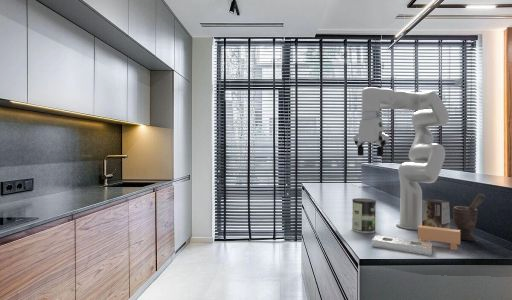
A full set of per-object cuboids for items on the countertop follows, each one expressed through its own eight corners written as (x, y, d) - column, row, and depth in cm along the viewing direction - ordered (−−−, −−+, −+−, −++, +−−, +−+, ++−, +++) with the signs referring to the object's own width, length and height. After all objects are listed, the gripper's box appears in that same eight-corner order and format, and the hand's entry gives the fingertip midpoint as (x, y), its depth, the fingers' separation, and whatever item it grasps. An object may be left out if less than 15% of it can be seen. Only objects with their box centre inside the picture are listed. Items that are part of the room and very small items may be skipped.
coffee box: (451, 240, 132) (452, 201, 133) (441, 242, 130) (442, 202, 130) (430, 235, 141) (431, 198, 141) (421, 236, 138) (421, 199, 138)
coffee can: (377, 229, 149) (378, 199, 149) (372, 234, 140) (373, 202, 140) (355, 226, 154) (355, 197, 154) (349, 231, 145) (349, 200, 145)
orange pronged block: (417, 245, 125) (418, 227, 125) (418, 242, 129) (418, 225, 129) (460, 251, 118) (460, 232, 118) (459, 248, 122) (459, 230, 122)
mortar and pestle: (487, 240, 133) (488, 192, 133) (483, 244, 127) (484, 194, 127) (455, 235, 141) (456, 190, 141) (450, 238, 135) (451, 191, 135)
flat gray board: (371, 246, 122) (371, 239, 122) (375, 241, 129) (375, 235, 129) (431, 255, 112) (431, 248, 112) (432, 249, 119) (432, 243, 119)
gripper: (394, 115, 134) (393, 156, 134) (359, 118, 148) (358, 155, 148) (383, 114, 130) (382, 156, 130) (348, 117, 144) (348, 155, 144)
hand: (369, 155), depth 139 cm, fingers open, 9 cm apart
